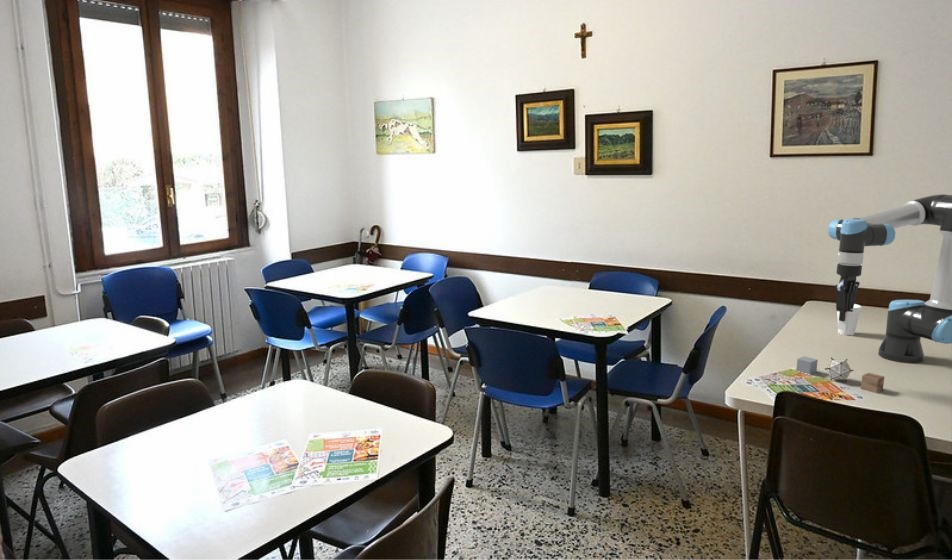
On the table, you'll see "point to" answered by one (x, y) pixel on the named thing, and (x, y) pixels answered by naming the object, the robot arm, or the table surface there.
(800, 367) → the grey block
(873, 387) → the walnut block
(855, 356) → the table surface
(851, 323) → the foam cup
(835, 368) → the white icosahedron
